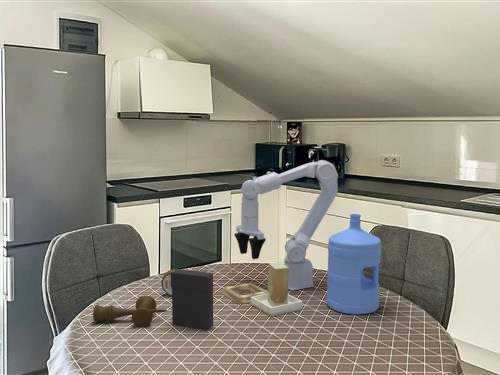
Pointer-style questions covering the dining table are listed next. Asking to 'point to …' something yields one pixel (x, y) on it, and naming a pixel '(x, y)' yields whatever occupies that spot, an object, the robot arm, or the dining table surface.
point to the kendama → (129, 312)
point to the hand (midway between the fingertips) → (249, 256)
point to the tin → (168, 282)
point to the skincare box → (278, 284)
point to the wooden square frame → (233, 290)
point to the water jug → (353, 270)
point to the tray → (266, 307)
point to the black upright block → (192, 299)
